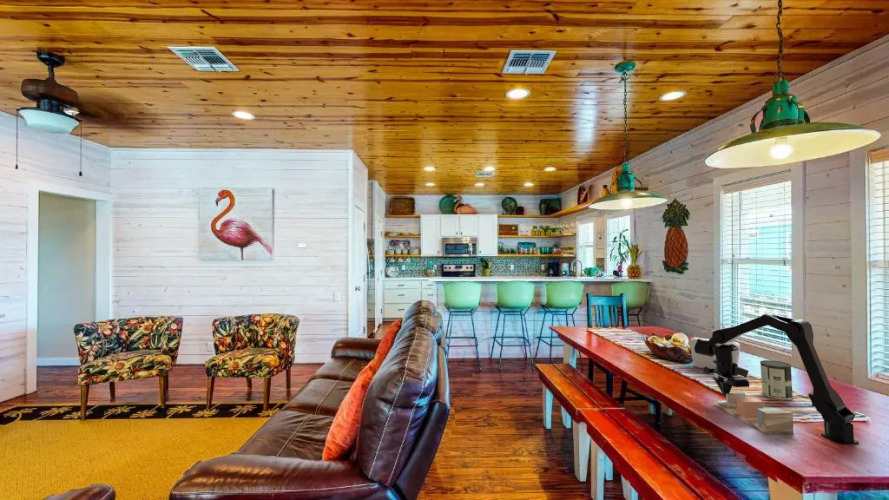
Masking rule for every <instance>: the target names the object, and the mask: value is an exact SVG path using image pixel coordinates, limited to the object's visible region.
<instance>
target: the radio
mask: <svg viewBox="0 0 889 500" xmlns="http://www.w3.org/2000/svg"><path fill="white" fill-rule="evenodd" d="M720 325H721V326H722V329H724V328H726V327H725V326H724V324H723V323H722V322H721V323H720ZM704 332H706V330H705V331H700V332H699V334H701V333H704ZM697 339H704V340H710V338H703V337H697V336H693V337H692V338H690V339H689V340H688V341H689V342H688V343H689V348H690V352H691V356H692V357H691V358H692V362H693V365H694V367H695V368H699V369H703V368H704V367H705V366H716V363H713V360H716V354H715V355H714V356H712V357H710V356H705V355H700V354H697V353H695V350H694V347H695V344H696V342H697ZM724 344H725V345H730V344H734V345H735V346H736V347H737V348H738V350H736V351H732V354H733V362H734V363H736V364H738V365H739V359H740V352H741V344H740V343H739V342H737V341H735V340H733V341H732V342H728V343H724ZM716 345H719V346H720V345H721V344H716Z"/></svg>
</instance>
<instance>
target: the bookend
mask: <svg viewBox="0 0 889 500" xmlns="http://www.w3.org/2000/svg"><path fill="white" fill-rule="evenodd" d="M736 398H746V393H745V392H730V393H726V397H725V399H726V400H717V402H719V403H720V404H722V405H724V406H726V407H728V408H737V402H736Z"/></svg>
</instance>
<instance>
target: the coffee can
mask: <svg viewBox="0 0 889 500" xmlns="http://www.w3.org/2000/svg"><path fill="white" fill-rule="evenodd" d="M759 363H760V380H761V381H760V382H761V394H762V395H763V396H765V397H768V398H771V399H776V400H781V401H782V400H783V401H790V400H793V399H794V397H793V395H794V394H793V379H792V377H793V376H792V364H790V363H788V362H785V361H779V360H770V359H767V360H766V359H764V360H760V361H759Z"/></svg>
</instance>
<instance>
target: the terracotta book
mask: <svg viewBox="0 0 889 500" xmlns="http://www.w3.org/2000/svg"><path fill="white" fill-rule="evenodd" d="M736 402H737V414H739V415H741V416H742V417H744V418H758V409H765V408H764V401H763V400H761V399H758V398H756V397H745V398H736Z"/></svg>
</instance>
